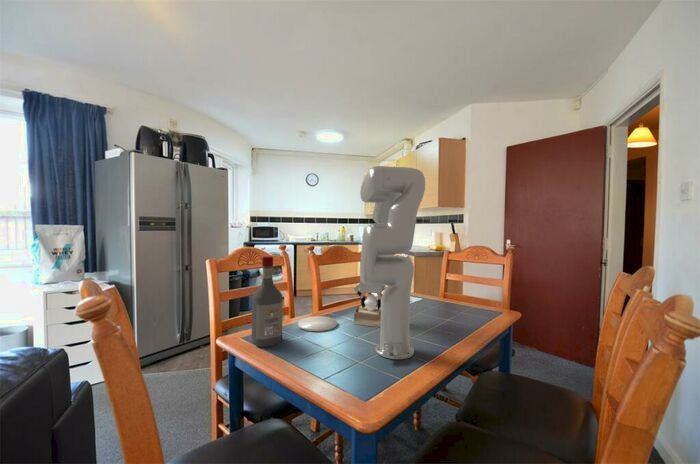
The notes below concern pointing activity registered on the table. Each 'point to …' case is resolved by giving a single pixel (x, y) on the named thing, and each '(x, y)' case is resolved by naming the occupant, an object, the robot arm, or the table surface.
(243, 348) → the table surface
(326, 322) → the white plate
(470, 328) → the table surface
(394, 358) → the robot arm
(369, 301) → the white rounded piece
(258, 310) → the liquor
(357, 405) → the table surface
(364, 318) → the pegged square board
